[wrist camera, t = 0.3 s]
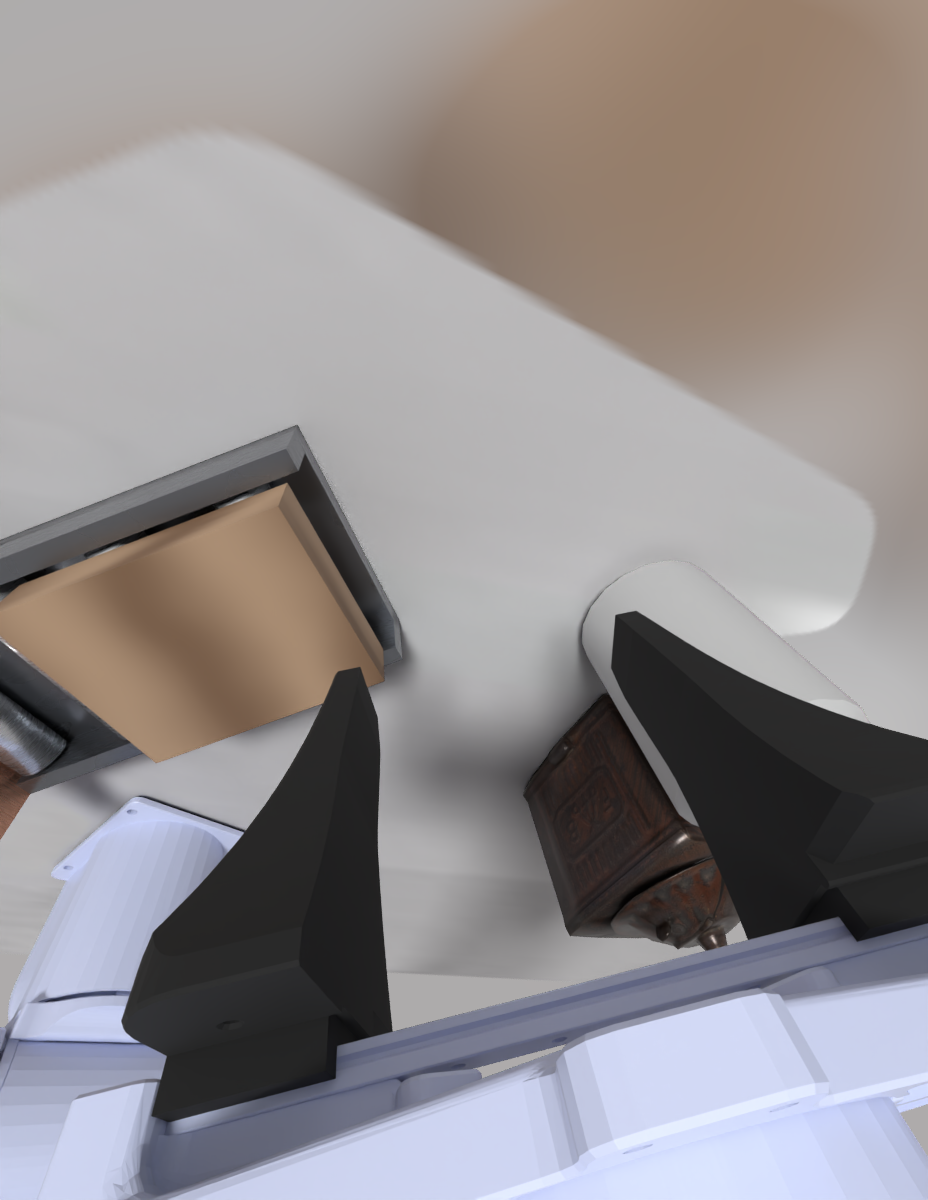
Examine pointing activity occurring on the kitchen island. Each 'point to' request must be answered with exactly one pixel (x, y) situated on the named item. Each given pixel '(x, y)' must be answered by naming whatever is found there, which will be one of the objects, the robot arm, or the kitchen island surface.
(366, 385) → the kitchen island surface
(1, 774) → the roller bed
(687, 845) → the manual coffee grinder
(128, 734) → the tan flat block
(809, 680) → the can
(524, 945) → the kitchen island surface
